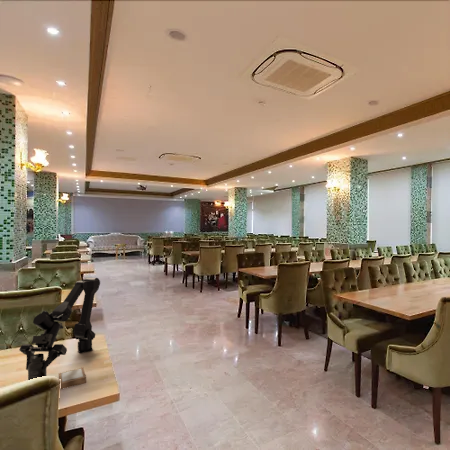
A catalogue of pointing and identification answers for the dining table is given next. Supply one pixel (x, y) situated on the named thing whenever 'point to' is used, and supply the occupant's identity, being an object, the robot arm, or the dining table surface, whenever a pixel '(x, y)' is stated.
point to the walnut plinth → (72, 378)
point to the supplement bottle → (36, 366)
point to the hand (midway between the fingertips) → (35, 369)
